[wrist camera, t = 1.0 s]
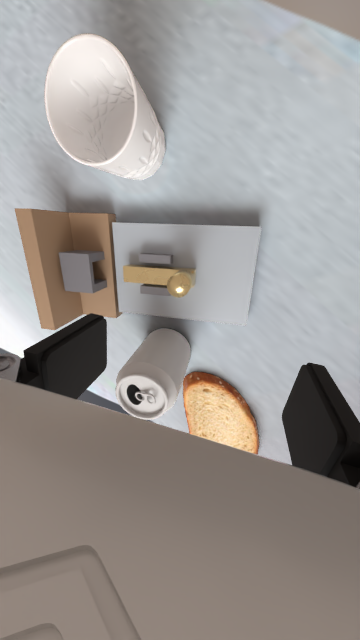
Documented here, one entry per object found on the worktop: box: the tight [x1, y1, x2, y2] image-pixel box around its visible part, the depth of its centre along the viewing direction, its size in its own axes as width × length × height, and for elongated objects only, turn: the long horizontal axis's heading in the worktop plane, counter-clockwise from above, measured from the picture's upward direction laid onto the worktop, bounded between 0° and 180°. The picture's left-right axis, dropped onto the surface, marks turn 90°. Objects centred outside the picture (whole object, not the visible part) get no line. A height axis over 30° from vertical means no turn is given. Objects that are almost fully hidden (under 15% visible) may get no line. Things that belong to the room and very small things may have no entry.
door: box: [15, 209, 262, 330], centre depth 28 cm, size 26×14×8 cm, turn 89°
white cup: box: [44, 34, 166, 180], centre depth 22 cm, size 8×8×10 cm
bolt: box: [123, 264, 196, 298], centre depth 26 cm, size 9×2×6 cm, turn 89°
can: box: [116, 328, 191, 420], centre depth 30 cm, size 8×8×12 cm
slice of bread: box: [183, 372, 259, 455], centre depth 38 cm, size 18×18×4 cm
